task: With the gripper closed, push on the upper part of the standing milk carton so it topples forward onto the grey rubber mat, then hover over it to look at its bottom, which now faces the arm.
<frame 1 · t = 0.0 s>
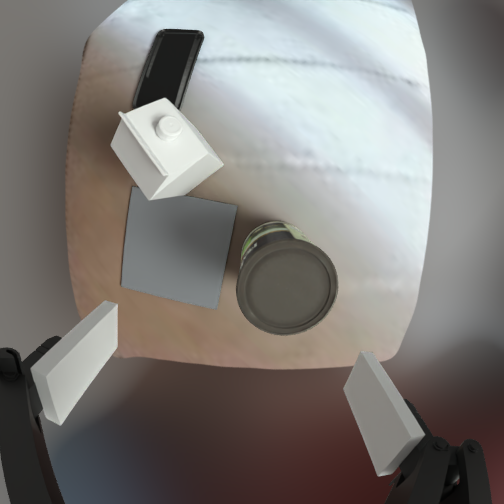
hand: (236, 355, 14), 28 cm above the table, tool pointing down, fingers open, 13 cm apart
coffee can: (276, 256, 42), on the table
phone: (169, 70, 35), on the table
mat: (174, 248, 41), on the table
milk carton: (190, 161, 38), on the table
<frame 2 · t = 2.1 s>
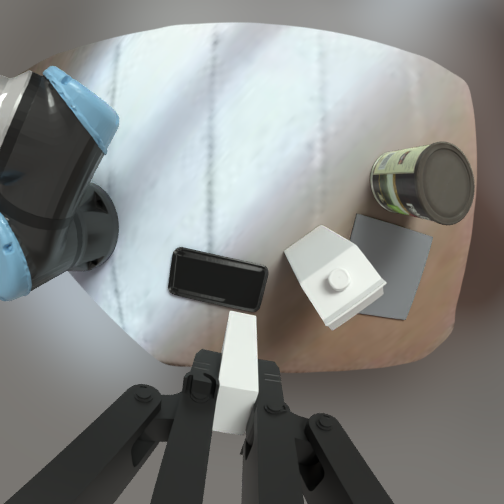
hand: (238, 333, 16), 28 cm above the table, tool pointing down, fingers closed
coffee can: (396, 181, 41), on the table
phone: (217, 278, 45), on the table
mat: (384, 271, 44), on the table
milk carton: (314, 255, 44), on the table
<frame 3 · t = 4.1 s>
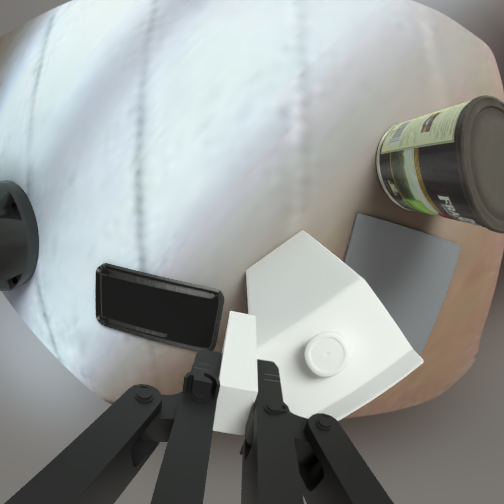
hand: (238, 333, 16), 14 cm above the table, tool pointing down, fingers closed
coffee can: (413, 166, 27), on the table
phone: (156, 306, 31), on the table
mat: (395, 295, 30), on the table
milk carton: (292, 275, 29), on the table, touching gripper
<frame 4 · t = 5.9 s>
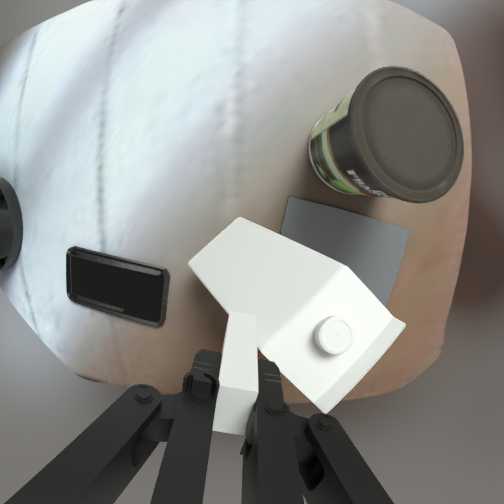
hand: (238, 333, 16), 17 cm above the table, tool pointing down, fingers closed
coffee can: (350, 150, 30), on the table
phone: (115, 284, 34), on the table
mat: (336, 277, 33), on the table
milk carton: (231, 261, 30), point 2 cm above the table, touching mat
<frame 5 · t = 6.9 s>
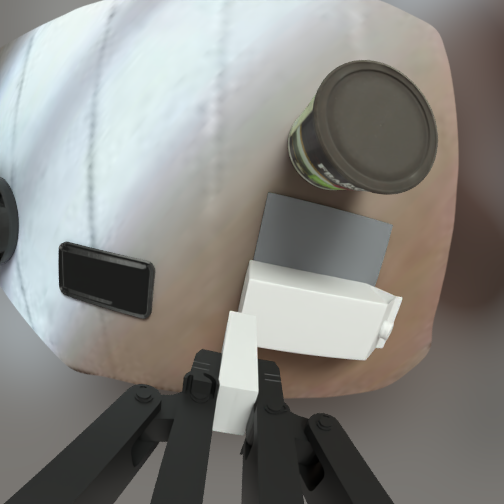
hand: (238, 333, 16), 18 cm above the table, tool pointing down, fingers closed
coffee can: (330, 147, 31), on the table
phone: (104, 277, 35), on the table
mat: (317, 272, 34), on the table
milk carton: (239, 298, 30), point 4 cm above the table, touching mat
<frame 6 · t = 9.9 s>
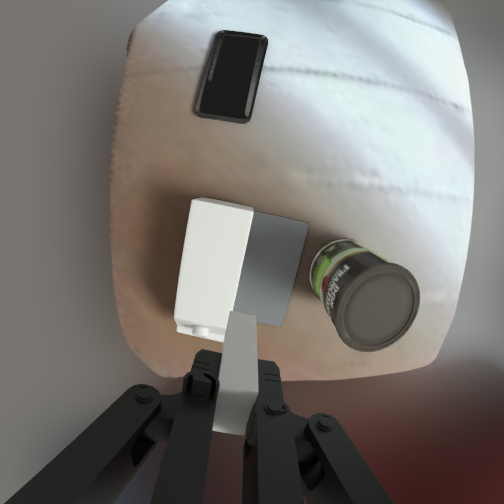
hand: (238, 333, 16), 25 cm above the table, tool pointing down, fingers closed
coffee can: (342, 272, 41), on the table
phone: (232, 75, 35), on the table
mat: (240, 265, 40), on the table
milk carton: (225, 200, 34), point 4 cm above the table, touching mat
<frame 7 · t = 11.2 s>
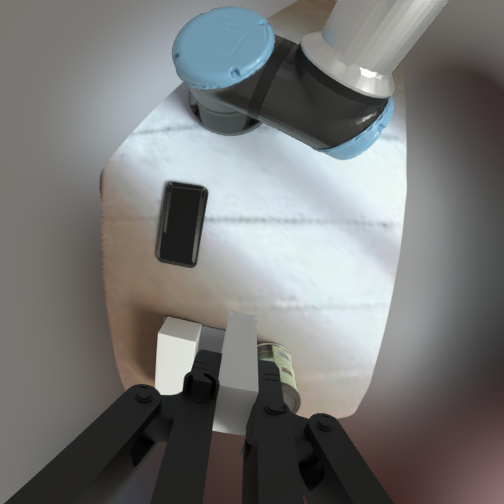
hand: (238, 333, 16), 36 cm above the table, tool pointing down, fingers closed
coffee can: (267, 361, 57), on the table
phone: (182, 224, 51), on the table
mat: (196, 356, 57), on the table
milk carton: (181, 326, 51), point 4 cm above the table, touching mat
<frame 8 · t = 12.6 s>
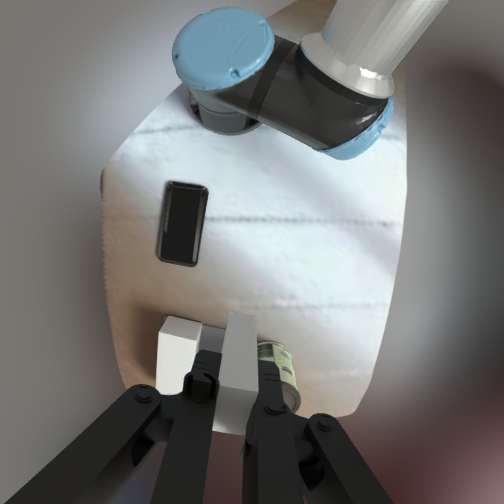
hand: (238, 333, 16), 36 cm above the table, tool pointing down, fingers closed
coffee can: (267, 360, 58), on the table
phone: (182, 224, 52), on the table
mat: (197, 355, 57), on the table
milk carton: (181, 325, 51), point 4 cm above the table, touching mat
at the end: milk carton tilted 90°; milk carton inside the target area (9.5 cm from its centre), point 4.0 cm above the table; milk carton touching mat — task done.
